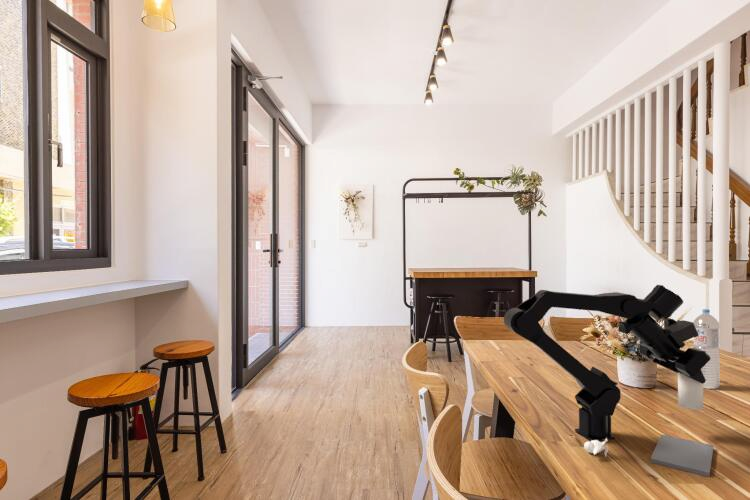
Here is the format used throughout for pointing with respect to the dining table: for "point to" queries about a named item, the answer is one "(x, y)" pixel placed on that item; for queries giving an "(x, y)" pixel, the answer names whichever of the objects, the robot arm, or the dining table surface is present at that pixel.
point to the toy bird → (596, 446)
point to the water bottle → (709, 347)
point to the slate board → (683, 454)
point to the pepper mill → (690, 393)
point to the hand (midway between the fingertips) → (696, 378)
